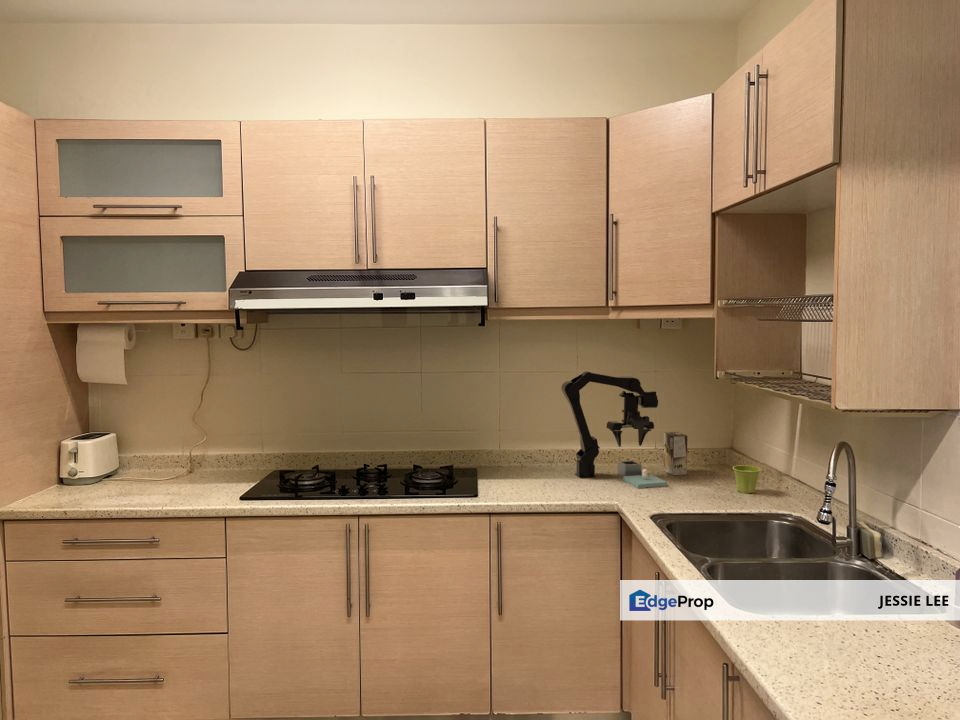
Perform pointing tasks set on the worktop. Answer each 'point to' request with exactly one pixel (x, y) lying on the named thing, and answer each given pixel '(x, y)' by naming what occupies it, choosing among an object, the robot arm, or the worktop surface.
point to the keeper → (645, 480)
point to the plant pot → (746, 478)
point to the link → (629, 468)
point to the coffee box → (675, 453)
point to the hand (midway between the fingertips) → (629, 446)
